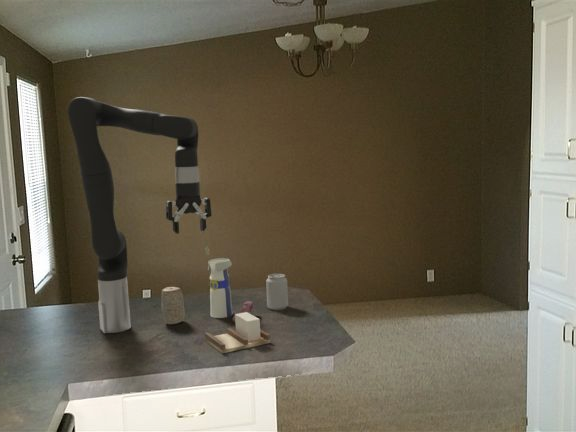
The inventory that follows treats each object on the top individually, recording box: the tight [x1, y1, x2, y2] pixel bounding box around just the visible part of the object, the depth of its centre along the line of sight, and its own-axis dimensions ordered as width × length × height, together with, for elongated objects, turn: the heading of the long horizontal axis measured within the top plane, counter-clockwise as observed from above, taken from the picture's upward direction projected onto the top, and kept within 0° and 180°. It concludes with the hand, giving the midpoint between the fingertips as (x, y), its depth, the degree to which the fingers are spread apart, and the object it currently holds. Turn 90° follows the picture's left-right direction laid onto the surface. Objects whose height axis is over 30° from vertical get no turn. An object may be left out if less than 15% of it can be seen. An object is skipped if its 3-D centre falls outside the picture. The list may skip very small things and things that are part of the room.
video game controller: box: [231, 300, 255, 323], centre depth 200 cm, size 10×5×7 cm, turn 169°
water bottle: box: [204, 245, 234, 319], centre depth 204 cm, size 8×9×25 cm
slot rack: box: [204, 327, 271, 354], centre depth 177 cm, size 16×13×2 cm
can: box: [265, 273, 289, 311], centre depth 211 cm, size 8×8×12 cm
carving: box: [160, 286, 186, 325], centre depth 198 cm, size 6×8×12 cm
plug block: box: [234, 312, 261, 341], centre depth 178 cm, size 9×4×6 cm, turn 29°
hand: (189, 232), depth 187 cm, fingers open, 8 cm apart
